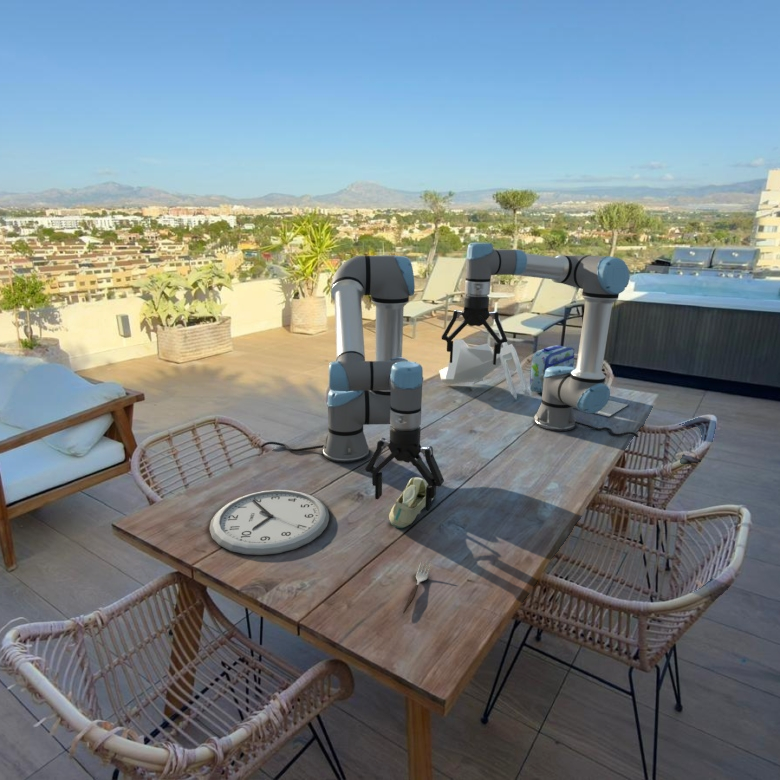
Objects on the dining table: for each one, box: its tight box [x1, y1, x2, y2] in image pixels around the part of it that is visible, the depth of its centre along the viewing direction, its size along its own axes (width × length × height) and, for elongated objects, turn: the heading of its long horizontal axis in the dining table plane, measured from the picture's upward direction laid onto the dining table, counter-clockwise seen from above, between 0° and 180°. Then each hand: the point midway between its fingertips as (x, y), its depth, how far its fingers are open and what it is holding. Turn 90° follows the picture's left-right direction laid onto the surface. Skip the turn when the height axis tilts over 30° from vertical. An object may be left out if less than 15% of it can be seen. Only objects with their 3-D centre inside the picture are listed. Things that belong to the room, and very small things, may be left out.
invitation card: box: [595, 399, 629, 418], centre depth 226 cm, size 21×1×15 cm
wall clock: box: [209, 489, 330, 556], centre depth 135 cm, size 30×2×30 cm
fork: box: [402, 559, 432, 614], centre depth 109 cm, size 3×16×2 cm, turn 160°
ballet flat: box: [388, 476, 436, 529], centre depth 141 cm, size 8×25×8 cm, turn 160°
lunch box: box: [529, 345, 575, 394], centre depth 245 cm, size 26×11×21 cm, turn 134°
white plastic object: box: [438, 310, 531, 400], centre depth 245 cm, size 37×45×31 cm
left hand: (403, 502), depth 134 cm, fingers open, 13 cm apart
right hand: (472, 362), depth 166 cm, fingers open, 13 cm apart
